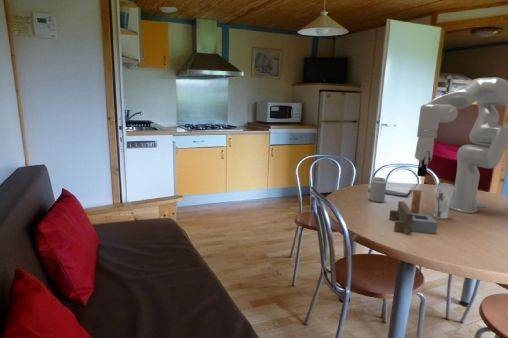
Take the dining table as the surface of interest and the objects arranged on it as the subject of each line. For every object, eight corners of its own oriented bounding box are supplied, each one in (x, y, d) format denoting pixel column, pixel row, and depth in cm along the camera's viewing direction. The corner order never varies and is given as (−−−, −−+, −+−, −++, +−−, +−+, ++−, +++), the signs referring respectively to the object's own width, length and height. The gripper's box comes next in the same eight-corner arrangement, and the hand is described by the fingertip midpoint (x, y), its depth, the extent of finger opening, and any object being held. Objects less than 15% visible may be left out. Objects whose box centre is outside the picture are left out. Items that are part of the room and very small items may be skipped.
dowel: (417, 215, 156) (420, 190, 153) (418, 218, 153) (422, 191, 150) (409, 215, 157) (412, 189, 154) (410, 217, 154) (414, 191, 151)
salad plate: (407, 198, 185) (407, 192, 185) (366, 192, 196) (367, 186, 195) (412, 191, 203) (413, 185, 202) (375, 185, 214) (376, 179, 213)
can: (386, 203, 174) (389, 180, 172) (371, 202, 174) (373, 179, 172) (381, 199, 182) (383, 176, 179) (367, 198, 182) (369, 176, 179)
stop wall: (402, 219, 150) (404, 201, 149) (410, 234, 133) (413, 214, 132) (388, 217, 152) (390, 200, 150) (395, 232, 134) (397, 212, 133)
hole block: (429, 225, 144) (431, 214, 143) (435, 233, 135) (437, 222, 134) (404, 222, 146) (405, 212, 146) (408, 230, 137) (409, 219, 136)
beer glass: (447, 215, 158) (452, 183, 155) (450, 220, 151) (456, 187, 148) (431, 213, 160) (435, 182, 157) (433, 218, 154) (438, 185, 151)
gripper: (413, 132, 154) (408, 172, 158) (421, 135, 140) (416, 179, 144) (431, 132, 153) (426, 173, 156) (441, 136, 138) (435, 180, 142)
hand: (421, 176), depth 150 cm, fingers closed
